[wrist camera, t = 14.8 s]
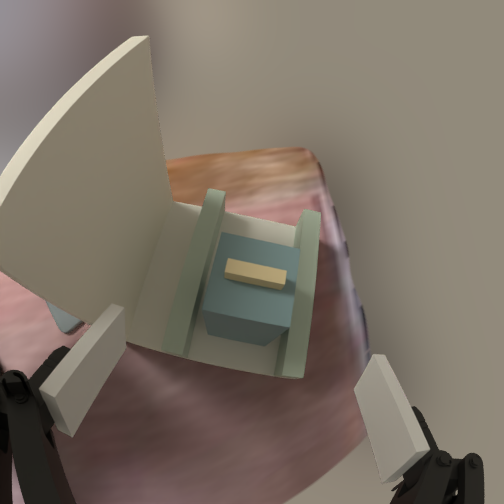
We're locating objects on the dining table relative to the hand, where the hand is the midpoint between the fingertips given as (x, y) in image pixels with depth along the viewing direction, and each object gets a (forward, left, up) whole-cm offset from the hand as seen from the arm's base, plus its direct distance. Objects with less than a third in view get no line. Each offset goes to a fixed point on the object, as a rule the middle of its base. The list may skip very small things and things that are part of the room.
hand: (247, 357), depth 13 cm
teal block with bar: (0, +6, -15) cm, 16 cm away
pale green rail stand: (-3, +9, -17) cm, 19 cm away
